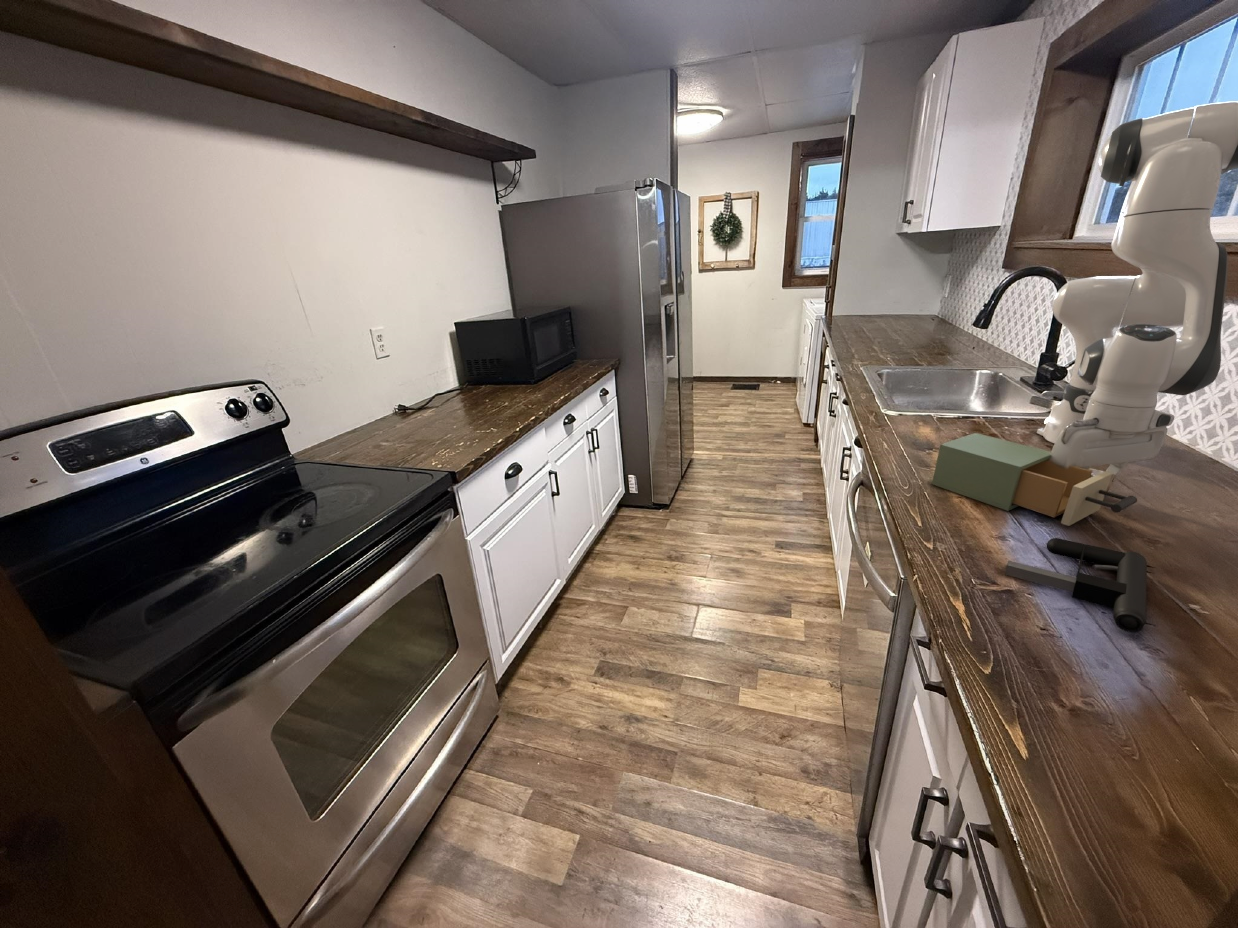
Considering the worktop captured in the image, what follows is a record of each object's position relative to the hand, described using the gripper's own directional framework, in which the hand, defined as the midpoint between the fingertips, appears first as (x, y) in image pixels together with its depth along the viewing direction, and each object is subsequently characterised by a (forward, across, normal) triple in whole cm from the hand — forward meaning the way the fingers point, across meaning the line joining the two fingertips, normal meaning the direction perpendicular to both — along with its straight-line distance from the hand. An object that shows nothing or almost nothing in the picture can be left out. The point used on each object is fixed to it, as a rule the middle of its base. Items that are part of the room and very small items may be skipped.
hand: (1093, 483), depth 97 cm
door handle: (+2, -29, -23) cm, 37 cm away
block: (+2, 0, 0) cm, 2 cm away
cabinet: (+2, -17, +7) cm, 18 cm away
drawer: (+1, -13, -5) cm, 14 cm away
